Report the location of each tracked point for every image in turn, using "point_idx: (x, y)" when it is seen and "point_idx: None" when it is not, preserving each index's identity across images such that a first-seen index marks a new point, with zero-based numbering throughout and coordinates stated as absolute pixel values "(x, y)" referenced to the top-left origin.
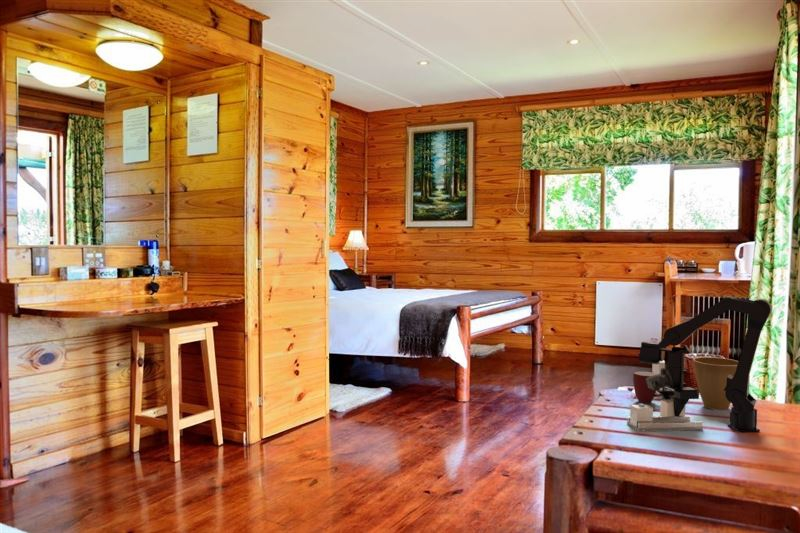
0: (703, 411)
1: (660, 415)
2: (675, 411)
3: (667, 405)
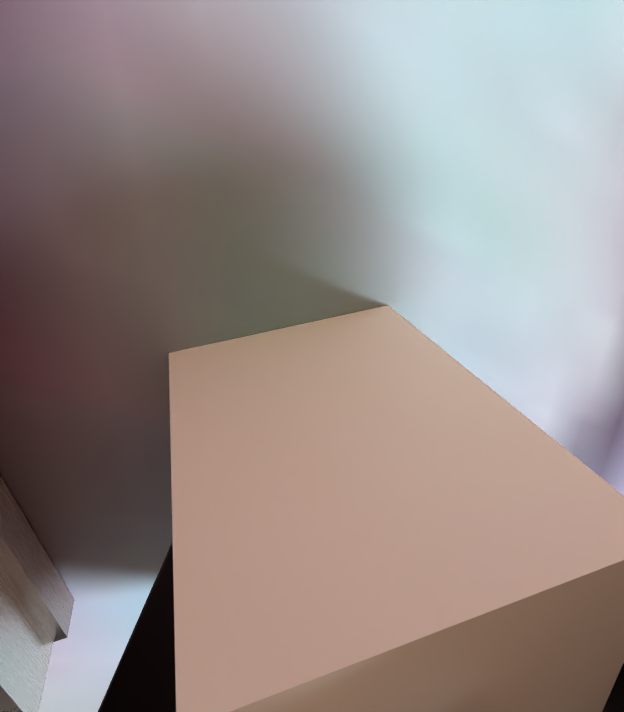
0: None
1: (391, 314)
2: (143, 612)
3: (180, 606)
